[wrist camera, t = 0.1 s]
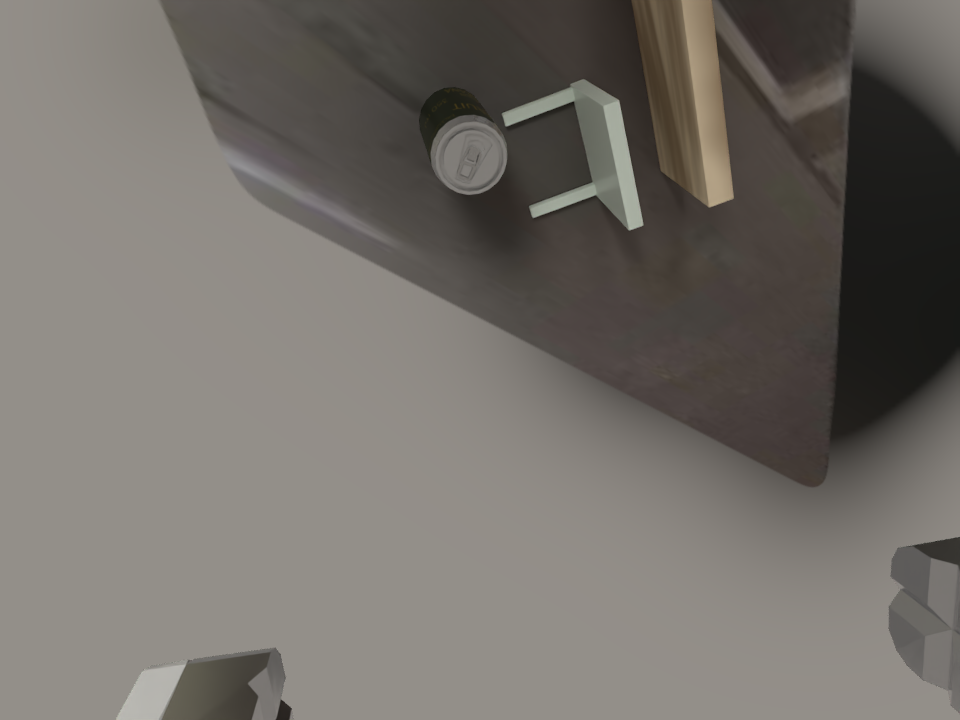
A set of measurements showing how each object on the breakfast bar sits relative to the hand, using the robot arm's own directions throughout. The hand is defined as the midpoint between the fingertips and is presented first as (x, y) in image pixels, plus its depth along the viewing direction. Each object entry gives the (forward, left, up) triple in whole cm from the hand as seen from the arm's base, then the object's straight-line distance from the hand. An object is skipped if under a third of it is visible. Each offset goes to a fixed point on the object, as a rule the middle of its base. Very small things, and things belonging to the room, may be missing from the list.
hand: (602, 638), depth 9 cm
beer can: (+1, +6, -52) cm, 53 cm away
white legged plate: (-2, +15, -52) cm, 54 cm away
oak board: (-11, +18, -52) cm, 56 cm away
